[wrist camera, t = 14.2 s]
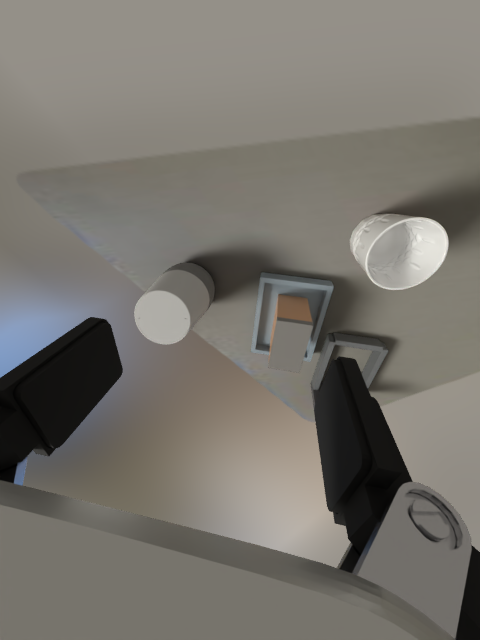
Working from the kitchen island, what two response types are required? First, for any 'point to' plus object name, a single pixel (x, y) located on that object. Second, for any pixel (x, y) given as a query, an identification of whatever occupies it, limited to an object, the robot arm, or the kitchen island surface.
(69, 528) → the robot arm
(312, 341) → the tray
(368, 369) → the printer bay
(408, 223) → the white cup
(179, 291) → the smart speaker
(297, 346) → the block
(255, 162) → the kitchen island surface
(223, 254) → the kitchen island surface
